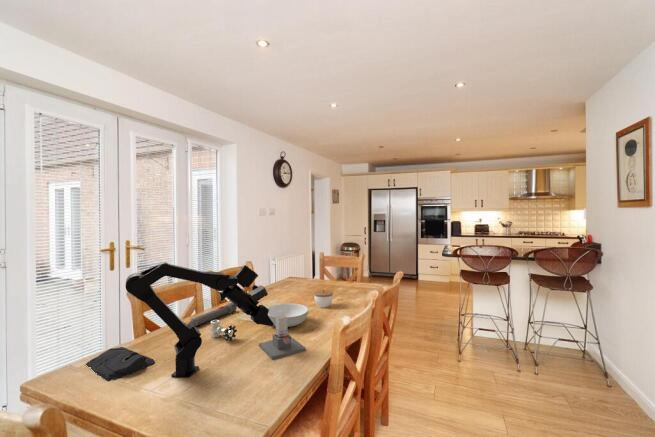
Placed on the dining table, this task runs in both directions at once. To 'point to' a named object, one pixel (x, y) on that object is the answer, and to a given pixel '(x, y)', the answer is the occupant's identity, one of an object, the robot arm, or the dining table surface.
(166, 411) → the dining table surface
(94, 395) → the dining table surface
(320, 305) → the lidded jar
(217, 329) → the valve
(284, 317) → the block
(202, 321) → the flashlight
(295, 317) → the serving bowl
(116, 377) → the dark slate chunk
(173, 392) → the dining table surface
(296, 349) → the jack stand base
